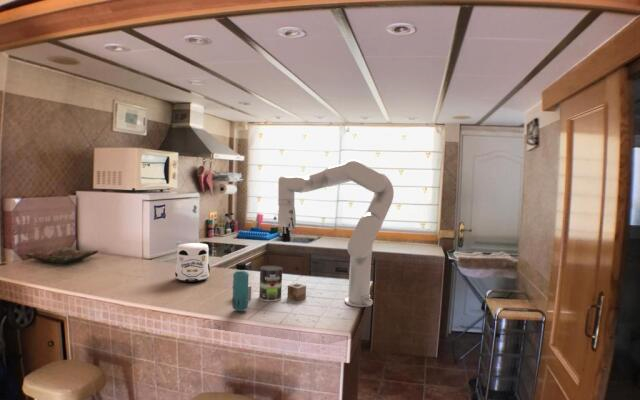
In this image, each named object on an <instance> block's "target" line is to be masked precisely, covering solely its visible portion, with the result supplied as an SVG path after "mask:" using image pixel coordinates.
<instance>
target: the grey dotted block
mask: <svg viewBox="0 0 640 400" xmlns="http://www.w3.org/2000/svg"><path fill="white" fill-rule="evenodd" d="M251 284H252V283H250V282H248V301H250V300H252V285H251Z"/></svg>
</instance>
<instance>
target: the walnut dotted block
mask: <svg viewBox="0 0 640 400" xmlns="http://www.w3.org/2000/svg"><path fill="white" fill-rule="evenodd" d="M286 297H287V299H289V300H291V301H295V302H299V301H302V300H304V299H306V298H307V285H305V284H301V283H298V282H296V283H292V284H288V285H287V295H286Z"/></svg>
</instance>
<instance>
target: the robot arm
mask: <svg viewBox="0 0 640 400" xmlns="http://www.w3.org/2000/svg"><path fill="white" fill-rule="evenodd" d="M349 182H353V183H355V184H357V185H359V187H360V186H361V187H362V188H364V189H366V190H368V191H369V192H372V193H374V195H373V197H372V199H371V201H370V203H369V206H368V208H367V210H366V211H365V213H364V214H363V216H360V218H359V220H358V222H357V224H356V225H355V228H354V230H353V233H352V234H351V236H350V238H349V240H348V242H347V246H346V247H347V252H348V254H349V256H350V258H349V274H348V295H347V296H346V297H345V298H344V303H345V304H346V305H347V306H351V307H354V308H355V307H356V308H367V307H370V306H372V305H373V303H374V300H372V298H371V295H370V293H371V292H370V291H371V289H370V287H371V274H372V273H371V270H372V257H373V244H374V242H375V240H376V238H377V237H378V234H379V232H380V230H381V229H382V226H383V223H384V221H385V219H386V216H387V215H388V213H389V210H390V207H391V205H392V203H393V199H394V187H393V184H392V182H391V180H390V179H389V177H388V176H387V175H386V174H385V173H382V172H378V171H376V170H375V169H373V168H370V167H368V166H367V165H365V164H363V163H362V162H361V161H360V160H356V159H350V160H348V161H346V162H344V163H342V164H338V165H337V164H336V165H333V166H330V167H326V168H325V169H324V170H322V171H320V172H317V173H314V174H310V175H305V176H303V175H301V176H280V177H279V178H278V186H277V187H278V189H277V190H278V191H277V193H278V196H277V197H278V200H277V201H278V202H277V203H278V204H277V206H278V211H277V213H278V214H277V216H278V217H277V223H278V226H279V227H280V229H281V233H282V234H281V235H282V239H281V240H282V241H281V242H284V243H287V242H290V241H291V231H293V228H295V227H296V226H297V222H296V220H297V217H296V208H295V193H300V194H301V193H310V192H312V191H316V190H319V189H320V190H321V189H323V188H327V187H334V186H337V185H340V184H345V183H349Z"/></svg>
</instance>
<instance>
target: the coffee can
mask: <svg viewBox="0 0 640 400" xmlns="http://www.w3.org/2000/svg"><path fill="white" fill-rule="evenodd" d="M283 269H284V268H283V267H282V266H278V265H274V264H273V265H270V264H269V265H267V264H266V265H262V266H260V267H259V295H258V296H259V297H258V298H259V300H260V301H264V302H277V301H280V300H281V299H282V289H283V288H282V287H283V286H282V284H283V281H282V280H283Z"/></svg>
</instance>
